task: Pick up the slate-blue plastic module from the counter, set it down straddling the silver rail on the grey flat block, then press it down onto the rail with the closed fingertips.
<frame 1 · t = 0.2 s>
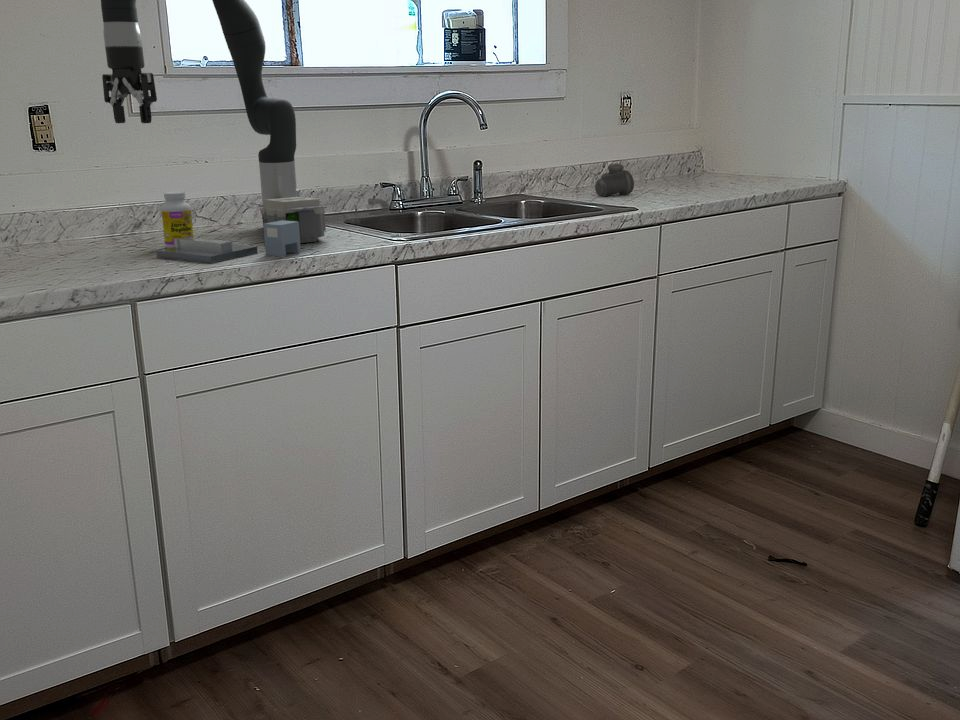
hand: (133, 123, 202), 29 cm above the countertop, fingers open, 8 cm apart
electrical outlet: (294, 239, 229), on the countertop
supplement bottle: (180, 248, 218), on the countertop
pipe fitting: (612, 196, 303), on the countertop
module: (283, 253, 207), on the countertop
grey flat block: (207, 255, 207), on the countertop
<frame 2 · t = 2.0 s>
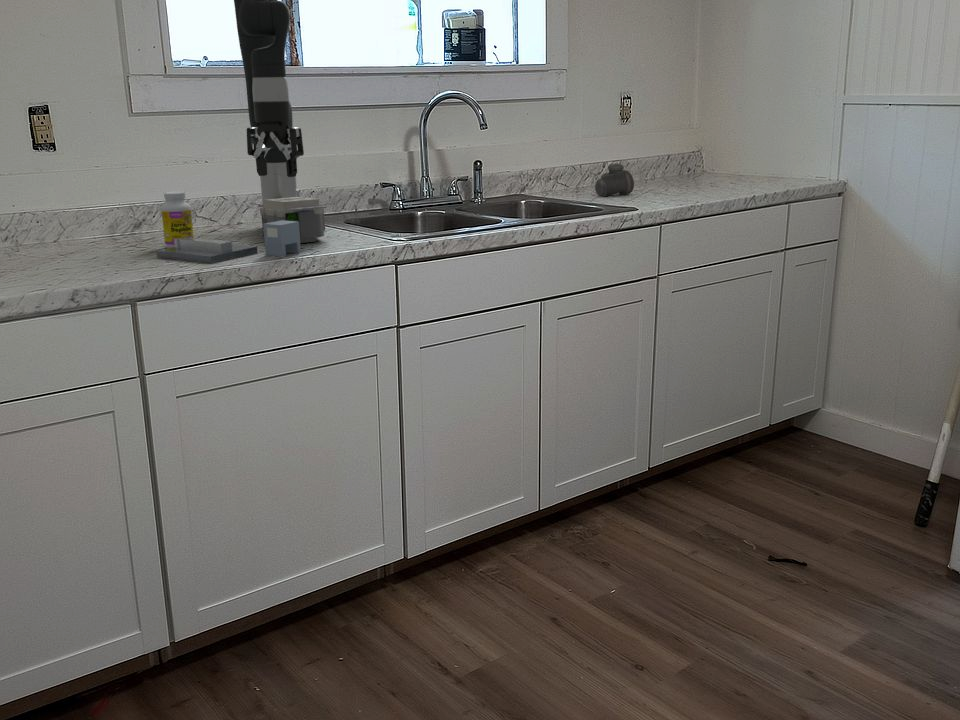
hand: (277, 176, 202), 17 cm above the countertop, fingers open, 8 cm apart
nothing on the countertop moved.
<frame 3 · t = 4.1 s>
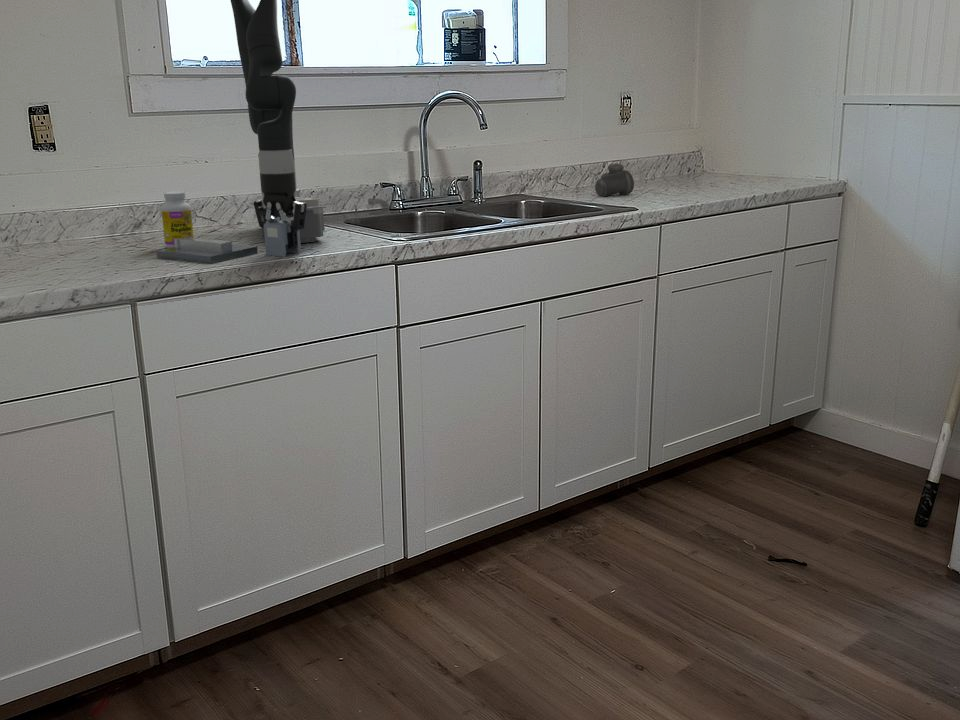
hand: (283, 247, 207), 1 cm above the countertop, fingers closed on module, 5 cm apart
module: (283, 253, 207), on the countertop, touching gripper
everything else where it was.
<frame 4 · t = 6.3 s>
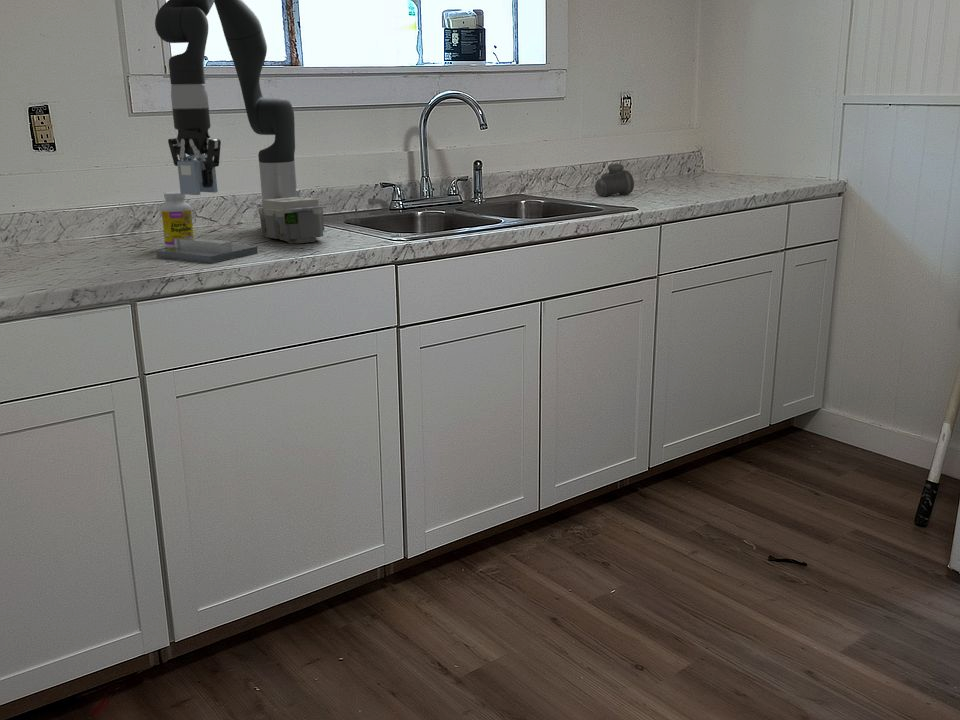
hand: (198, 186, 202), 15 cm above the countertop, fingers closed on module, 5 cm apart
module: (199, 193, 202), point 14 cm above the countertop, touching gripper
everything else where it was.
when the fingers open (5 cm above the countertop, at t = 8.8 s): module drops 2 cm, resting on grey flat block.
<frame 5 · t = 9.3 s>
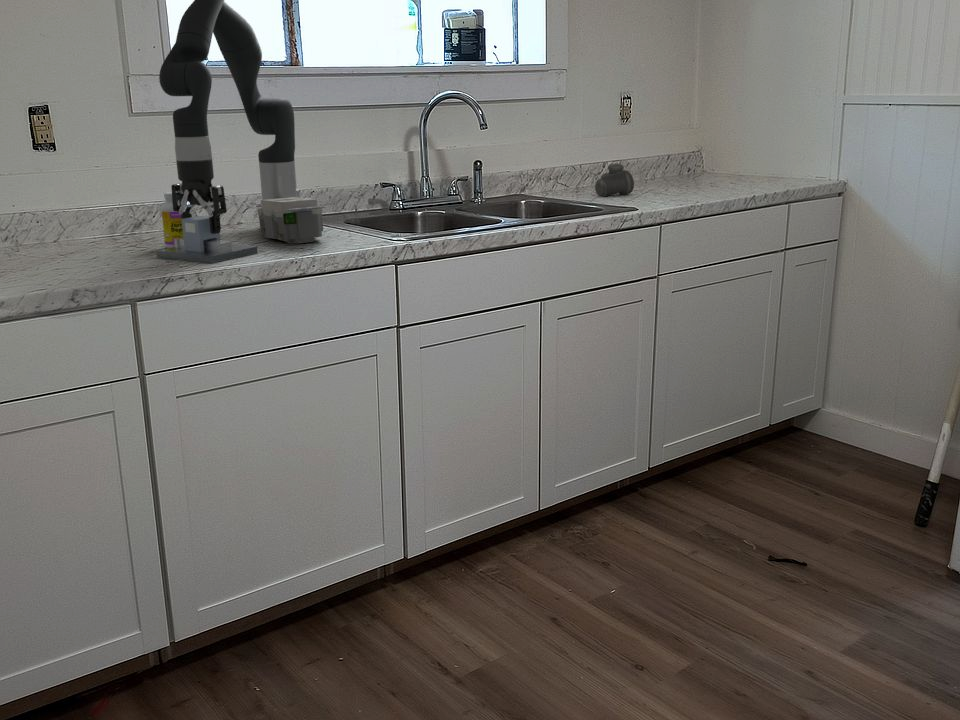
hand: (201, 232, 205), 5 cm above the countertop, fingers open, 8 cm apart
module: (203, 249, 206), point 1 cm above the countertop, touching grey flat block
everything else where it was.
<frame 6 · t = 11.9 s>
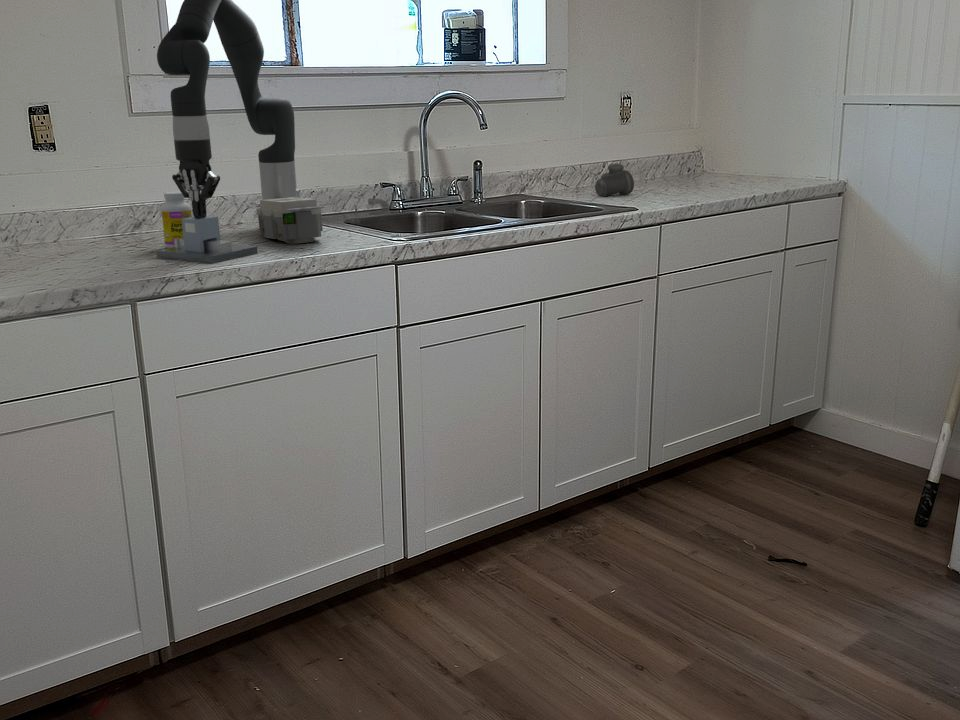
hand: (200, 217, 204), 9 cm above the countertop, fingers closed
module: (203, 249, 206), point 1 cm above the countertop, touching gripper, grey flat block
everything else where it was.
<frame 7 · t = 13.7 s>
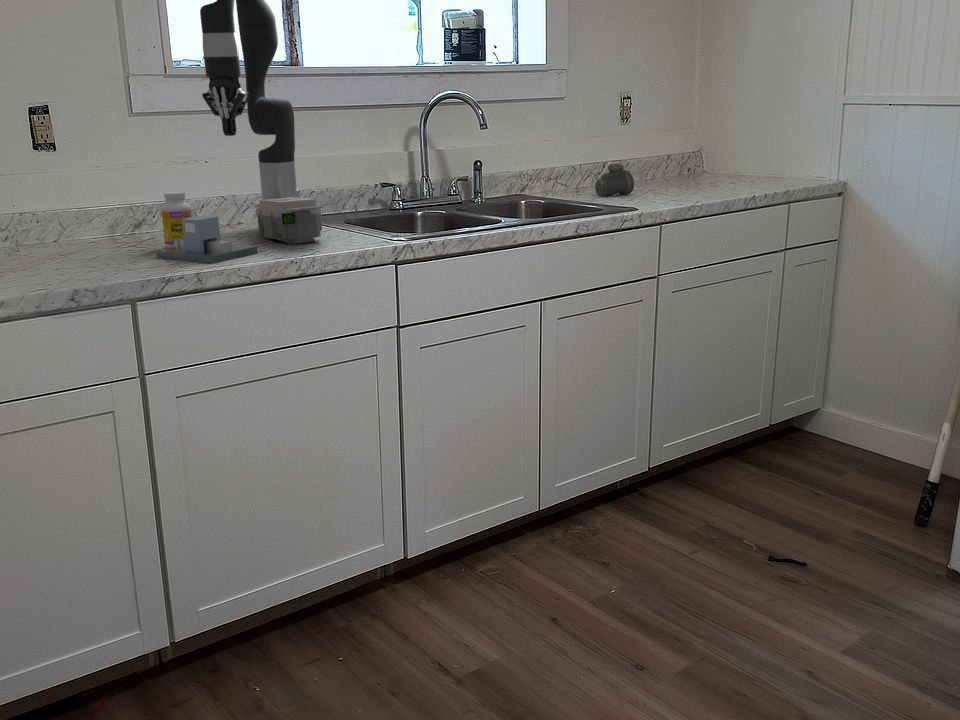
hand: (230, 135, 209), 26 cm above the countertop, fingers closed
module: (203, 249, 206), point 1 cm above the countertop, touching grey flat block
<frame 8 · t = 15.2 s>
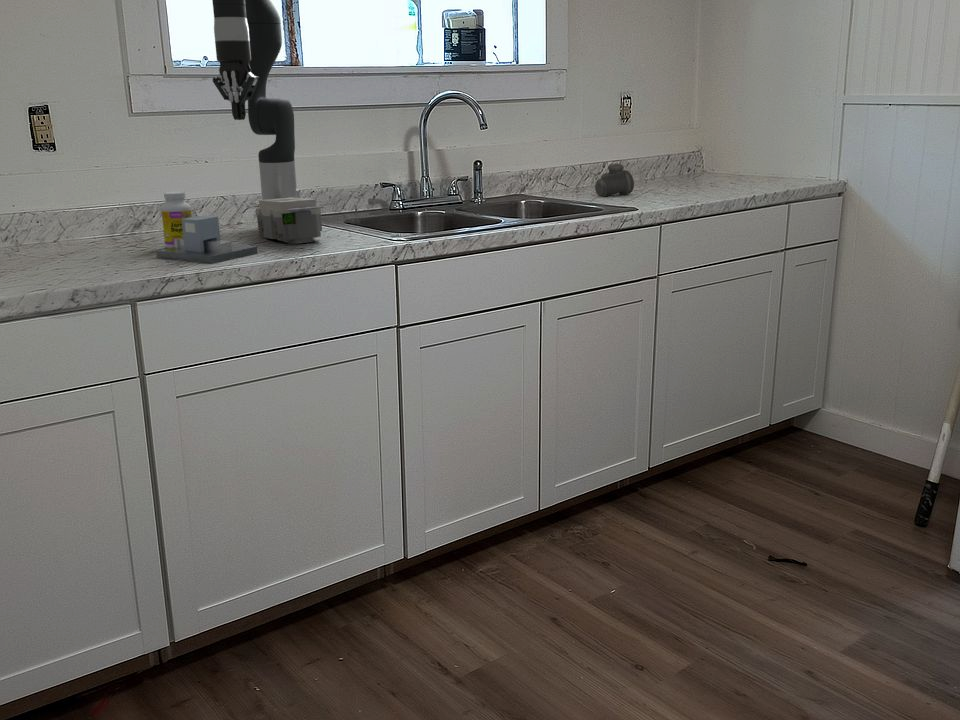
hand: (239, 119, 211), 29 cm above the countertop, fingers closed
at the end: module 0.2 cm from the target spot on the grey flat block, point 1.5 cm above the grey flat block's base; module tilted 0°; the gripper is holding nothing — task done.
